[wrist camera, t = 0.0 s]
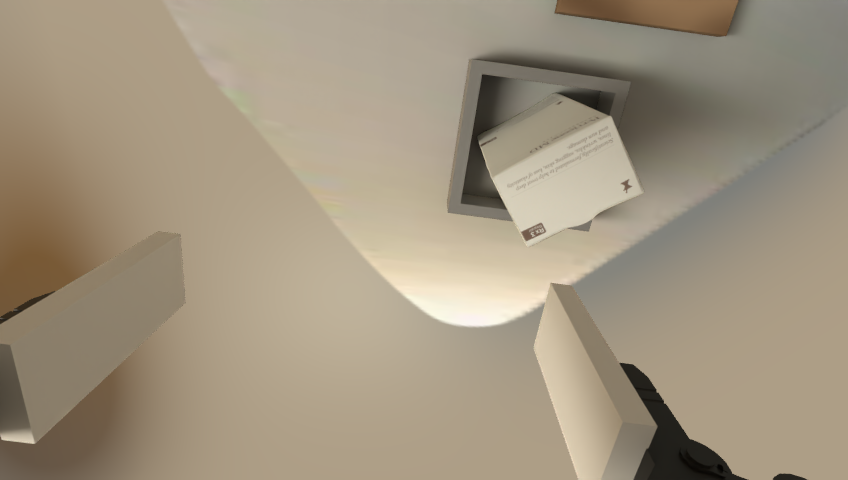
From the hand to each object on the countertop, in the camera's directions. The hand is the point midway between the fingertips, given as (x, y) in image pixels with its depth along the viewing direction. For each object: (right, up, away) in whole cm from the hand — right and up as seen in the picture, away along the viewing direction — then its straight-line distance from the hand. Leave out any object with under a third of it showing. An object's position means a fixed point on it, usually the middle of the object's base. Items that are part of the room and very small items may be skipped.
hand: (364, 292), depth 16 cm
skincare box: (+12, +11, +26) cm, 30 cm away
